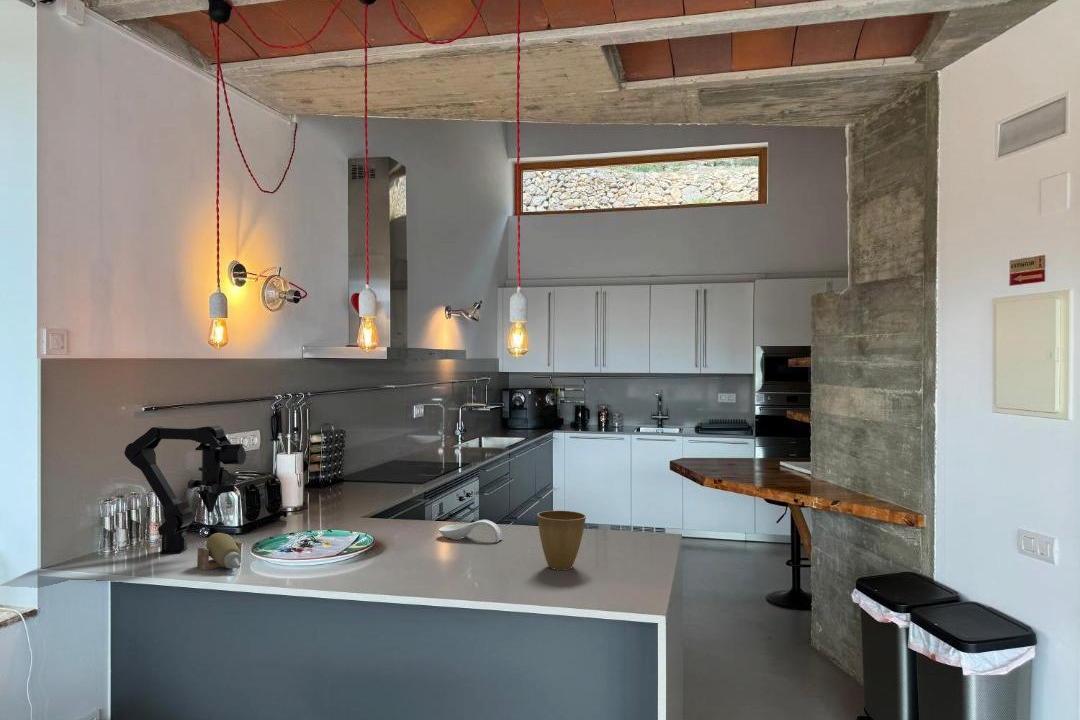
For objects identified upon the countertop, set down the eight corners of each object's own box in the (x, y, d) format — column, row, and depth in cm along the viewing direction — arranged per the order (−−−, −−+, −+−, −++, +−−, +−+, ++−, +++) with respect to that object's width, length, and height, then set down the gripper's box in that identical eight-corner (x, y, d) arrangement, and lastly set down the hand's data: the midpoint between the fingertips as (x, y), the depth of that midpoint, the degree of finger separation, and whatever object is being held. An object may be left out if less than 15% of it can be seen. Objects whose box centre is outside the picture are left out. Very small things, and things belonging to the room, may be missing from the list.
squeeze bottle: (204, 557, 219) (226, 584, 206) (200, 535, 216) (221, 560, 203) (231, 547, 224) (253, 572, 211) (227, 525, 221) (250, 549, 208)
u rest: (197, 567, 213) (197, 547, 213) (233, 559, 223) (233, 540, 223) (205, 570, 211) (205, 549, 211) (241, 562, 220) (241, 542, 220)
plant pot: (550, 575, 208) (550, 521, 209) (529, 563, 222) (529, 512, 222) (594, 570, 215) (594, 517, 215) (571, 558, 228) (571, 508, 228)
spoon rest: (433, 540, 253) (433, 519, 253) (447, 533, 264) (447, 514, 264) (494, 545, 246) (495, 525, 246) (507, 538, 257) (507, 518, 257)
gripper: (250, 464, 234) (249, 511, 233) (219, 459, 244) (218, 505, 244) (218, 467, 225) (217, 517, 224) (187, 462, 235) (186, 510, 235)
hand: (210, 512), depth 232 cm, fingers closed
